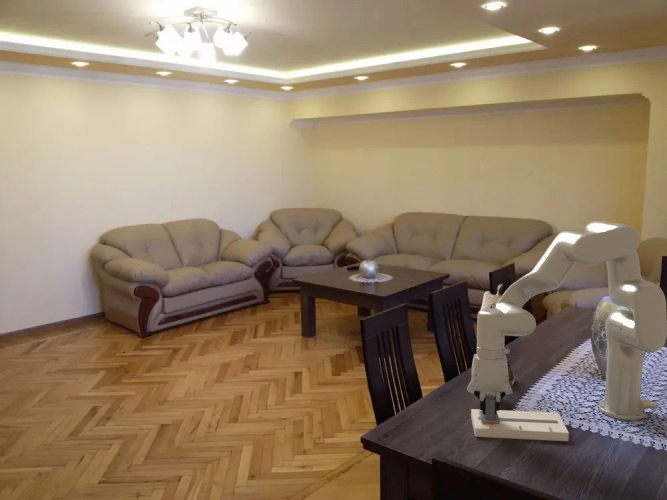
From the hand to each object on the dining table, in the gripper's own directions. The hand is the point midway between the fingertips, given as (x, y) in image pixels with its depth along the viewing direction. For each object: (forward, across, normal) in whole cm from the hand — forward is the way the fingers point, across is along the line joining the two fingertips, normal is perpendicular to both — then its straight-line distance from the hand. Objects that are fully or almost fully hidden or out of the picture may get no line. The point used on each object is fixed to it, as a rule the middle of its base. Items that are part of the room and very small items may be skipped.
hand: (489, 412), depth 158 cm
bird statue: (+5, -7, -32) cm, 33 cm away
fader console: (+5, -8, 0) cm, 9 cm away
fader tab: (+2, 0, 0) cm, 2 cm away
